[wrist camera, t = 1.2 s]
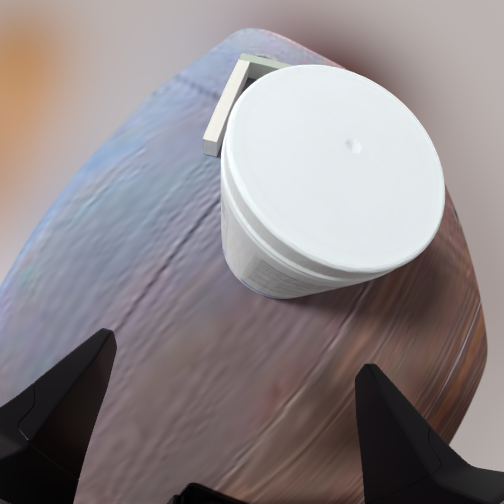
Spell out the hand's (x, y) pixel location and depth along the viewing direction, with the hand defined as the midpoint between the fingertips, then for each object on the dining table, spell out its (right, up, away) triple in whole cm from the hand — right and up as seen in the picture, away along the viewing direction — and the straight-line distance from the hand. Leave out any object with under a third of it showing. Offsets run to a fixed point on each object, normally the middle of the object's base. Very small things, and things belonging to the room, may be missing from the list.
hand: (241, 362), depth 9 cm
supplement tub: (+2, +5, +15) cm, 16 cm away
